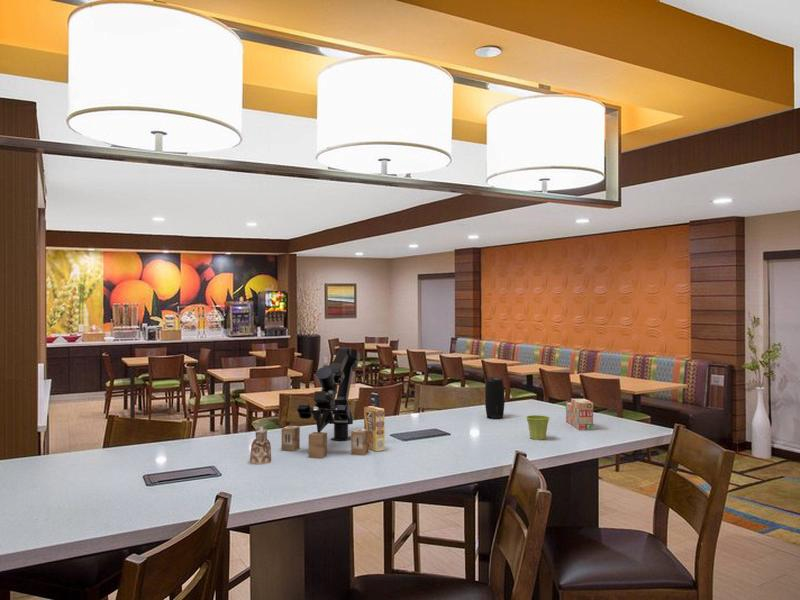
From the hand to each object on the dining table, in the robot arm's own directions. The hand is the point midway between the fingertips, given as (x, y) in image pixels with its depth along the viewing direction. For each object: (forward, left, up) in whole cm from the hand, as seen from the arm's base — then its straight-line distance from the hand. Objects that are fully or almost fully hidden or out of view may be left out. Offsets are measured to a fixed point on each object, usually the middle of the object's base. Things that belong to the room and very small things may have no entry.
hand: (318, 431), depth 211 cm
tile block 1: (-7, -14, -9) cm, 18 cm away
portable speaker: (-94, +54, -9) cm, 109 cm away
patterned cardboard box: (-82, +93, -9) cm, 124 cm away
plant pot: (-49, +75, -9) cm, 90 cm away
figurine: (+13, -16, -9) cm, 22 cm away
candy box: (-15, +16, -9) cm, 24 cm away
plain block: (+1, 0, -9) cm, 9 cm away
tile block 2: (-7, +13, -9) cm, 17 cm away
